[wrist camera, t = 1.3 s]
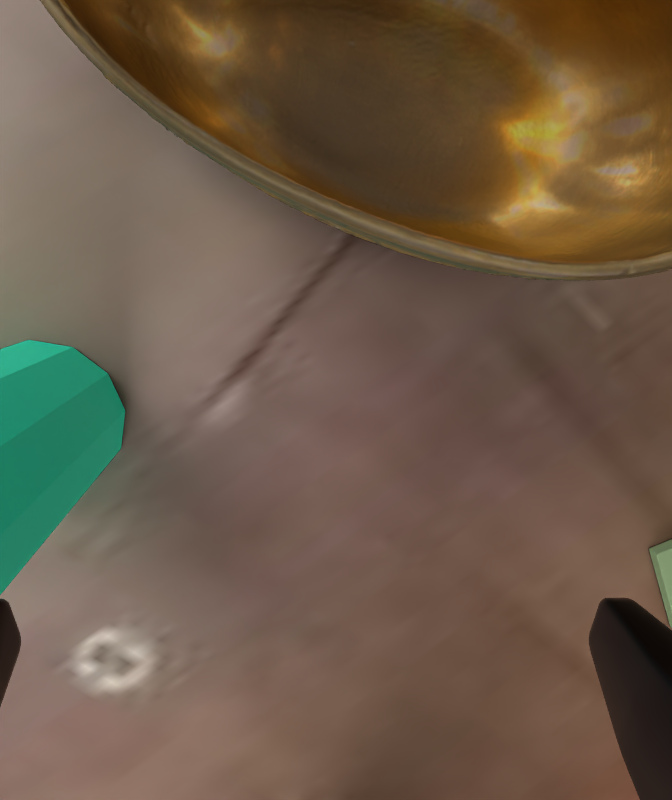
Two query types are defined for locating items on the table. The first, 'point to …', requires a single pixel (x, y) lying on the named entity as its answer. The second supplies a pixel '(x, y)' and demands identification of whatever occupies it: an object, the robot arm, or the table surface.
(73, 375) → the candle
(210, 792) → the table surface
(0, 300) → the table surface
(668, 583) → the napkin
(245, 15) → the cup
